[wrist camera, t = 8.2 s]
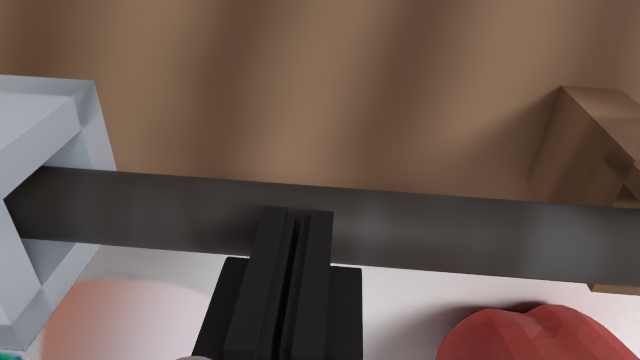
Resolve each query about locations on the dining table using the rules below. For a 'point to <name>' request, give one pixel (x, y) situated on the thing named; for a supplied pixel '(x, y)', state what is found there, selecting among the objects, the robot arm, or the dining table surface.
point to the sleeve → (19, 163)
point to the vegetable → (532, 337)
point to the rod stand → (351, 129)
